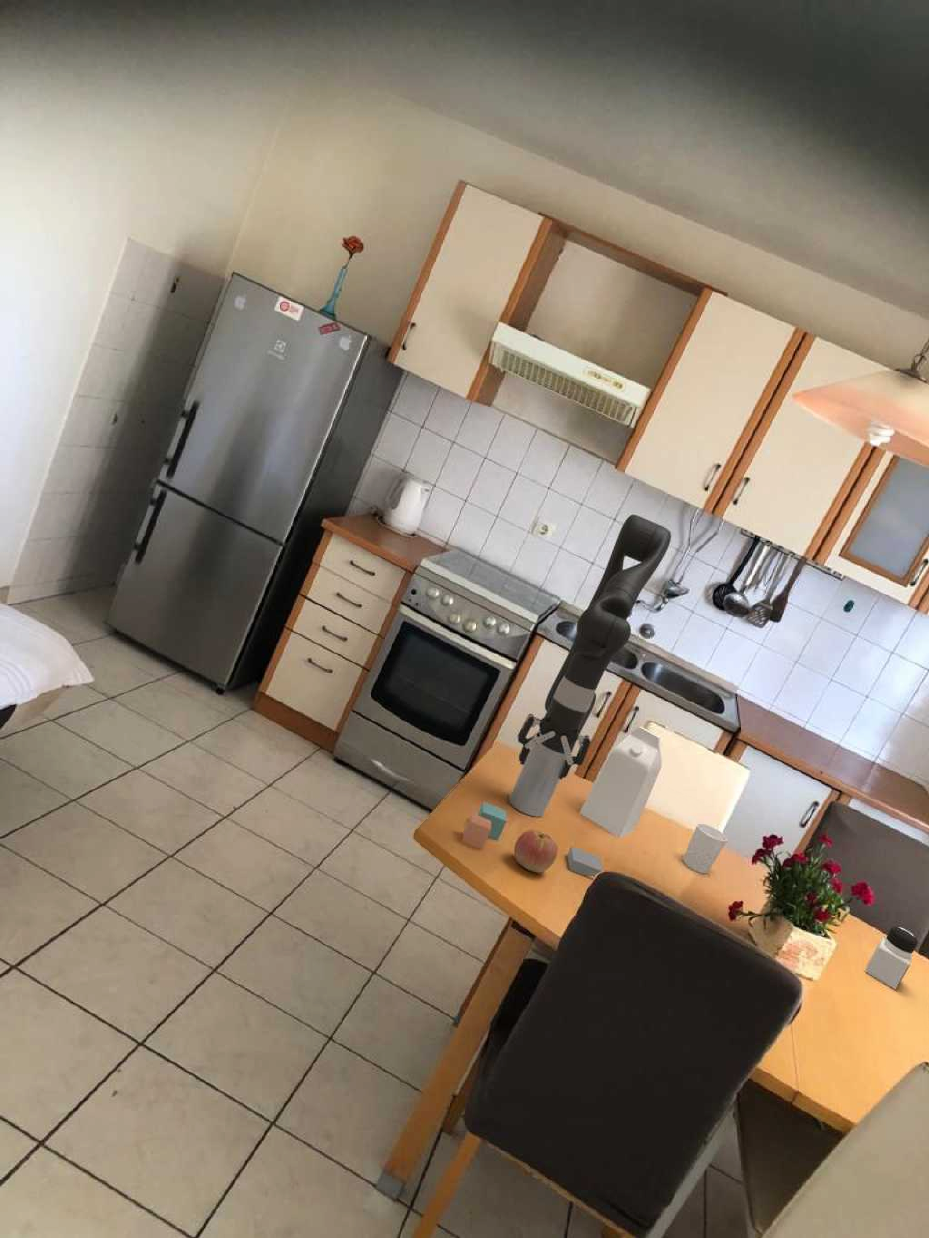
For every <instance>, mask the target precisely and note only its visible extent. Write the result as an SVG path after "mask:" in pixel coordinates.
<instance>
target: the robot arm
mask: <svg viewBox="0 0 929 1238" xmlns="http://www.w3.org/2000/svg"><path fill="white" fill-rule="evenodd" d="M671 538H672V532H671V530H669V529H668V528H667V527H665V526H662V525H660V524H658V523H657V522H653V521H652V520H649V519H647V518H644V517H643V516H639V515H637V514H630V515H629V516H628V517H627V518H626V519H625V521H624V523H623V525H622V527H621V528H620V530H619V533H618V535H617V537H616V541H615V543H614V546H613V548H612V551H611V554H610V556H609V559H608V562H607V564H606V567H605V570H604V573H603V575H602V577H601V579H600V581H599V584H598V586H597V588H596V591H595V592H594V594H593V596H592V598H591V600H590V602H589V605H588V607H587V608H586V609H585V610H583V612H582V614H581V615H580V616H579V619H578V620H577V623H576V632H577V633H576V635H575V637H574V640H573V642H572V645H571V647H570V650H568V654H567V655H566V657H565V659H564V662H563V663H562V665H561V668H560V669H559V671H558V673H557V675H556V677H555V679H554V681H553V684H552V685H551V687H550V690H549V691H548V694H547V696H546V699H545V703H544V709H545V711H546V712H545V714H544V716H543V717H542V718H538V717H536V716H534V714H533V713H529V714H528V715H527V717H526V719H525V721H524V723H523V724H522V727H520V728H521V729H520V731H519V732H518V735H517V741H518V743H519V744H521V745H522V747H521V750H520V751H519V755H518V761H519V764H520V765H522V768H521V770H520V772H519V774H518V777H517V779H516V782H515V784H514V786H513V788H512V790H511V793H510V795H509V797H508V801H509V803H510V805H511V806H512V807H514V808H515V809H517V810H518V811H520V812H521V813H523V814H526V815H529V816H532V817H537V818H539V817H543V816H544V814H545V812H546V809H547V808H548V807H549V806H548V805H549V804H550V801H551V799H552V798H553V794H554V792H555V790H556V788H557V785H558V784H559V782H560V780H563V778H564V779H565V778H566V777H567V776H568V774H569V772H570V770H571V768H572V766H573V765H577V766H582V764H583V763H584V760H585V758H586V755H587V753H588V749H589V747H590V744H591V738H590V736H589V735H588V734H586V735H582V734H581V732H582V730H583V729H584V726H585V725H586V723H587V720H588V719H589V717H590V715H591V713H592V711H593V709H594V706H595V704H596V702H597V701H596V700H597V694H596V690H597V688H598V686H599V684H600V681H601V680H602V677H603V675H604V672H605V671H606V669H607V668H608V666H609V665H610V663H611V662H612V661H613V659H614V658H615V657H616V656H617V655H618V653H619V652H620V651H621V650H622V649H623V648H624V647H625V646H626V644H627V643H628V641H629V639H630V637H631V634H632V633H631V632H632V629H631V624H630V622H629V621H628V620H627V619H628V617H629V616H630V614H631V613H632V611H633V608H634V607H635V604H636V603H637V600H638V599H639V596H640V594H641V592H642V591H643V589H644V588H645V586H646V584H647V583H648V581H649V580H650V579H651V577H652V576H653V574H654V573H655V572H656V570H657V568H658V567H659V566H660V563H661V562H662V561H663V559H664V557H665V556H666V553H667V551H668V549H669V546H670V543H671V540H672V539H671ZM625 557H628V558H630V559H632V560H634V561H637V562H639V563H637V564H634V565H632V566H630V567H627V568H625V569H624V561H625ZM536 725H537V726H538V727H539V729H538V731H537V732H535V733H533V735H532V736H530V737H528V738H527V736H528V734H529V732H530V730H531V728H535V727H536ZM577 741H578V746H579V749H578V751H577V754H576V756H573V755H572V752H573V751H574V748H575V745H576V743H577Z"/></svg>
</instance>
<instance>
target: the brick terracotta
mask: <svg viewBox="0 0 929 1238" xmlns="http://www.w3.org/2000/svg"><path fill="white" fill-rule="evenodd" d="M490 831H491V821H490V820H488V819H485V818H483V817H480V816H478V814H475V813H473V812H472V813H471V814H470V816H469V819H468V820H467V823H466V825H465V828H464V830H463V833H462V839H461V840H462V841H461V842H462V843H463V844H466V845H469V846H471V847H474V848H476V849H478V850H482V851H483V849H484V847H485V844H486V842H487V840H488V838H489V837H488V835H489V833H490Z"/></svg>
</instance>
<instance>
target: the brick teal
mask: <svg viewBox="0 0 929 1238" xmlns="http://www.w3.org/2000/svg"><path fill="white" fill-rule="evenodd" d="M477 815H478V816H480V817H483V818H485V819H488V820H490V821H491V831H490V833H489V835H488V838H491V839H493V840H496V841H499V838H500V836H501V834H502V832H503V829H504V828H505V825H506V823H507V810H504V809H503V808H500V807H497V806H495V805H492V804H490V803H487V802H484V801H482V804H481V806H480V809H479V810H478V813H477Z"/></svg>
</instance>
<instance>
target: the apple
mask: <svg viewBox="0 0 929 1238" xmlns="http://www.w3.org/2000/svg"><path fill="white" fill-rule="evenodd" d="M514 844H515V845H514V849H513V851H514V858H515V860H516V862H517V863H518V864H519V865H520V866H521V867H523V868H524V869H526V870H528V871H531V872H533V873H537V874H538V873H540V874H541V873H543V872H545V871H547V870H548V869H550V867H552V866H553V864H554V863H555V861H556V859H557V857H558V851H559V850H558V849H559V848H558V843H557V841H556V839H555V838H554V837H553V836H552V835H550V834H549V833H547V832H544V831H542V830H539V829H529V830H526V831H524V832H523V833H521V834H520V835H519V836H518V838H517V839H516V841H515V843H514Z"/></svg>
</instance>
